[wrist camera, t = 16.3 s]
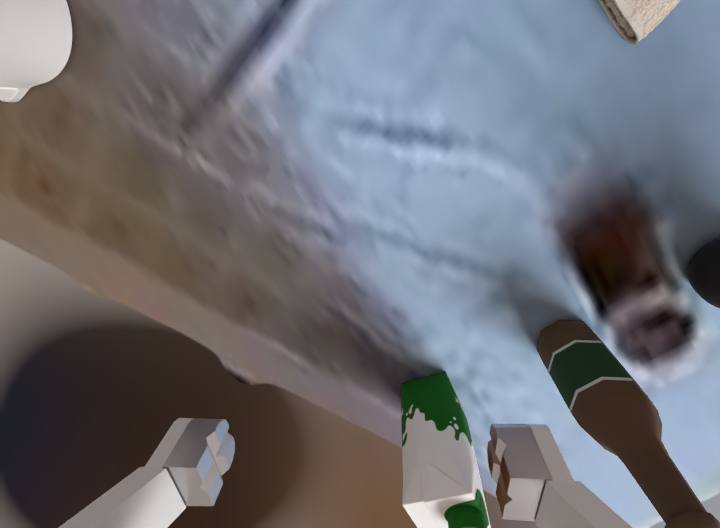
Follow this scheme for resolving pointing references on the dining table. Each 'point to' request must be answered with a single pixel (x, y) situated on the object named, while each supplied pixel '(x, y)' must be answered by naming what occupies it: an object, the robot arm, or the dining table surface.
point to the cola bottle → (706, 273)
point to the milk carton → (439, 458)
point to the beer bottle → (619, 418)
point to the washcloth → (637, 16)
